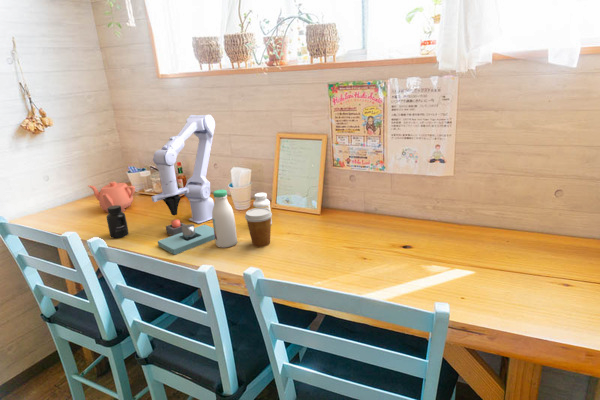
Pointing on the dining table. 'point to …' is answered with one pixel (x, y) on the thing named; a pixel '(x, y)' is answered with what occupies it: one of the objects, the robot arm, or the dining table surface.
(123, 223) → the supplement bottle
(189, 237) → the cylinder
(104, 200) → the teapot
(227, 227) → the milk bottle
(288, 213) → the dining table surface
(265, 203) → the supplement bottle
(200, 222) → the robot arm
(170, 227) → the button housing
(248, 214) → the disposable coffee cup
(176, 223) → the button
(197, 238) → the plate
